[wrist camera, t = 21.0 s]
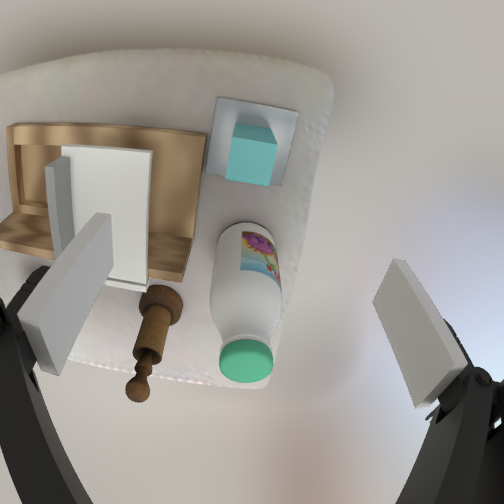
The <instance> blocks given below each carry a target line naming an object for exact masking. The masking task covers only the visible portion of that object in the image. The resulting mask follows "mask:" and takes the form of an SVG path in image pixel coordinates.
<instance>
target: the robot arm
mask: <svg viewBox="0 0 504 504" xmlns="http://www.w3.org/2000/svg"><path fill="white" fill-rule="evenodd" d="M113 267H114V260H113V243H112V218H111V214H105V213H98V212H96V213H95V214H94V215H93V216H92V217H91V219H90V220H89V221H88V222H87V223H86V224H85V225H84V227H83V228H82V229H81V230H80V231H79V232H78V234H77V235H76V236H75V237H74V238H73V240H72V241H71V242H70V243H69V245H68V246H67V247H66V248H65V249H64V251H63V252H62V253H61V254H60V256H59V257H58V258H57V259H56V261H55V262H54V263H53V265H52V266H51V267H47V266H41V267H40V268H38V269H37V270H35V271H34V272H32V274H31V275H30V276H29V278H28V279H27V280H26V283H24V284H23V285H22V287H21V288H20V290H19V291H18V292H17V293H16V295H15V296H14V298H13V299H12V300H11V302H10V303H9V304H8V306H7V307H6V308H5V305H4V303H3V300H2V299H1V298H0V446H1V449H2V453H3V455H4V459H5V461H6V464H7V466H8V470H9V473H10V475H11V478H12V480H13V483H14V485H15V488H16V490H17V493H18V495H19V497H20V499H21V502H22V504H93V503H92V501H91V499H90V497H89V496H88V494H87V492H86V491H85V489H84V487H83V485H82V484H81V482H80V480H79V478H78V476H77V474H76V472H75V470H74V468H73V467H72V464H71V462H70V460H69V458H68V456H67V454H66V452H65V450H64V448H63V446H62V444H61V441H60V439H59V437H58V435H57V432H56V430H55V428H54V425H53V423H52V420H51V418H50V415H49V413H48V410H47V407H46V405H45V402H44V399H43V396H42V394H41V391H40V388H39V385H38V382H37V379H36V376H35V373H34V371H33V367H34V365H35V363H36V361H37V362H38V364H39V367H40V369H41V370H42V371H44V372H48V373H50V374H54V375H57V376H59V375H60V373H61V371H62V369H63V366H64V364H65V362H66V360H67V357H68V355H69V353H70V351H71V349H72V347H73V344H74V342H75V340H76V338H77V336H78V334H79V332H80V330H81V328H82V326H83V324H84V321H85V319H86V317H87V315H88V313H89V312H90V310H91V308H92V306H93V304H94V302H95V300H96V298H97V296H98V294H99V292H100V290H101V289H102V287H103V285H104V283H105V281H106V279H107V277H108V276H109V274H110V272H111V270H112V268H113ZM373 305H374V307H375V309H376V312H377V313H378V316H379V318H380V321H381V323H382V325H383V328H384V330H385V332H386V334H387V337H388V339H389V342H390V344H391V346H392V349H393V351H394V354H395V356H396V359H397V361H398V364H399V366H400V369H401V372H402V374H403V377H404V379H405V382H406V385H407V387H408V390H409V393H410V395H411V398H412V401H413V404H414V406H415V408H422V407H429V406H430V405H431V404H432V403H433V402H434V401H435V400H436V399H437V398H438V400H439V402H440V404H439V405H438V406H437V407H436V408H435V409H434V410H433V411H432V412H431V413H430V414H429V415H428V416H427V417H426V419H425V420H428V419H429V418H430V417H432V416H433V418H432V420H431V421H430V426H429V429H428V432H427V434H426V437H425V439H424V442H423V445H422V447H421V450H420V452H419V454H418V457H417V459H416V462H415V464H414V466H413V468H412V471H411V473H410V475H409V477H408V479H407V481H406V484H405V486H404V488H403V490H402V492H401V494H400V496H399V498H398V500H397V502H396V504H504V380H503V381H502V382H501V383H499V382H495V381H493V380H492V378H491V376H490V375H489V373H488V372H487V371H486V370H484V369H482V368H480V367H474V365H473V364H472V362H471V360H470V358H469V356H468V354H467V353H466V351H465V349H464V347H463V345H462V344H460V340H459V339H458V337H456V333H455V331H454V330H453V328H452V326H450V324H449V323H448V322H447V321H446V320H445V319H443V318H442V316H441V315H440V313H439V311H438V310H437V308H436V306H435V305H434V304H433V302H432V300H431V298H430V297H429V295H428V294H427V292H426V291H425V289H424V287H423V286H422V284H421V283H420V281H419V280H418V279H417V277H416V275H415V274H414V272H413V271H412V269H411V268H410V266H409V265H408V263H407V262H406V261H405V260H399V259H393V260H392V262H391V264H390V267H389V269H388V271H387V273H386V275H385V277H384V279H383V281H382V283H381V285H380V287H379V289H378V291H377V293H376V295H375V297H374V299H373ZM500 418H501V424H500V425H499V426H498V427H497V428H495V427H494V423H495V422H497V421H498V420H499V419H500Z"/></svg>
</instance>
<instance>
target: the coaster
mask: <svg viewBox="0 0 504 504" xmlns="http://www.w3.org/2000/svg"><path fill="white" fill-rule="evenodd" d="M298 114H299V113H298V112H296V111H292V110H287V109H283V108H278V107H273V106H268V105H263V104H257V103H252V102H246V101H240V100H234V99H227V98H220V97H218V98H217V103H216V109H215V115H214V121H213V127H212V133H211V139H210V146H209V152H208V159H207V166H206V173H205V174H212V175H219V176H225V177H226V172H227V166H228V160H229V154H230V148H231V142H232V137H233V132H234V128H235V123H238V124H245V125H250V126H256V127H262V128H267V129H271V130H272V132H273V134H274V136H275V139H276V141H277V143H278V148H277V152H276V157H275V161H274V166H273V170H272V175H271V179H270V184H272V185H278V186H282V182H283V177H284V173H285V169H286V165H287V161H288V156H289V152H290V148H291V144H292V140H293V135H294V131H295V127H296V123H297V118H298Z"/></svg>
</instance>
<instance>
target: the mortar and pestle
mask: <svg viewBox="0 0 504 504" xmlns="http://www.w3.org/2000/svg"><path fill="white" fill-rule="evenodd" d="M182 308H183V303H182V300H181V298H180V296H179V295H178V293H176V292H175V291H174V290H173V289H171V288H169V287H166V286H162V285H154V286H150V287H148V289H147V292H146V293H145V292H143V294H142V297H141V300H140V303H139V310H140V313H141V315H142V316H143V317H144V318H143V321H142V324H141V328H140V331H139V334H138V337H137V340H136V343H135V346H134V349H133V356H134V358H135V359H136V360H137V361H138V362H137V363H136V365H135V371H136V372H137V373H136V376H135V377H133V378H132V379H131V380H130V381H129V382H128V383H127V385H126V388H125V389H126V395H127V396H128V398H129V399H130V400H132V401H134V402H144V401H145V400H147V399H148V397H149V395H150V388H149V385H148V382H147V376H149V375H151V374H152V365H156V364H158V363H160V362H161V360H162V355H163V350H164V345H165V341H166V336H167V332H168V328H169V326H171V325H174V324H175V323H177V322H178V320H179V319H180V316H181V312H182Z"/></svg>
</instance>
